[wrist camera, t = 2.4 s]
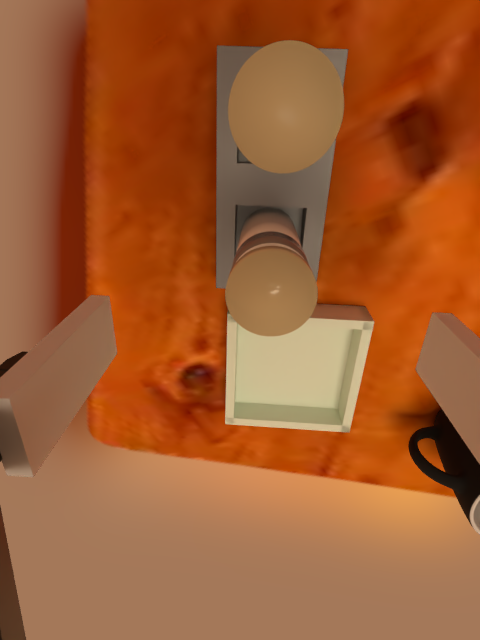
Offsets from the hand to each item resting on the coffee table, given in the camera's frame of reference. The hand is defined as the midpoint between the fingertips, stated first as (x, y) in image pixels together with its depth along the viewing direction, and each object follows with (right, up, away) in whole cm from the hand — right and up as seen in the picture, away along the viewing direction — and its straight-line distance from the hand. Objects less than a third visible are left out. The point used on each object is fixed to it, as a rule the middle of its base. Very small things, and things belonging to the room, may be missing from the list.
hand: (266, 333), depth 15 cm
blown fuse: (+1, +7, +14) cm, 16 cm away
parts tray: (+4, -3, +20) cm, 21 cm away
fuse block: (+1, +11, +13) cm, 17 cm away
